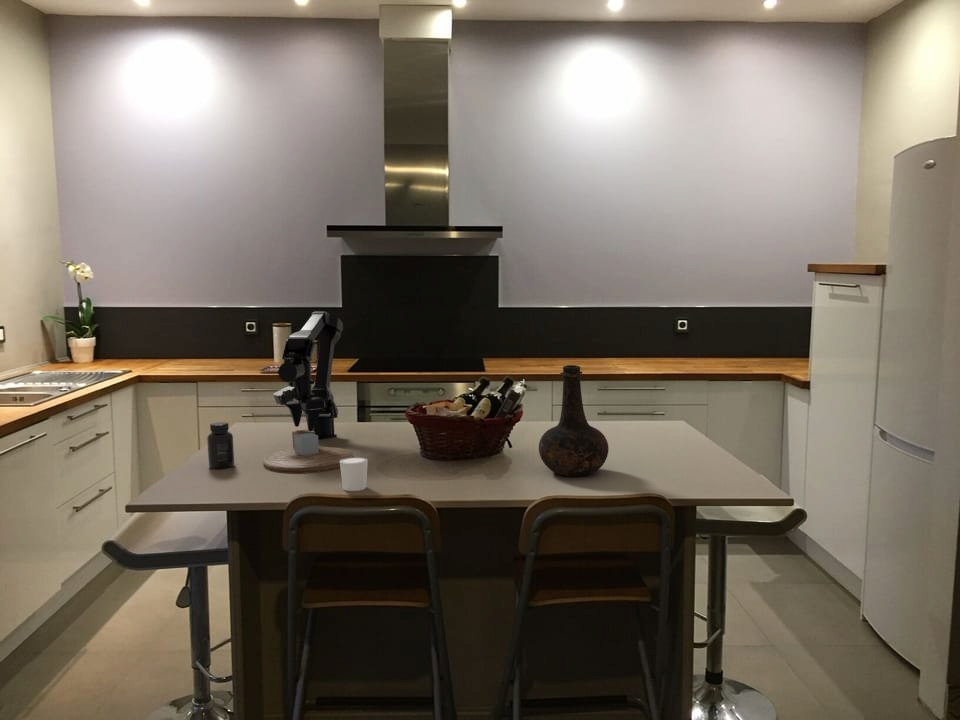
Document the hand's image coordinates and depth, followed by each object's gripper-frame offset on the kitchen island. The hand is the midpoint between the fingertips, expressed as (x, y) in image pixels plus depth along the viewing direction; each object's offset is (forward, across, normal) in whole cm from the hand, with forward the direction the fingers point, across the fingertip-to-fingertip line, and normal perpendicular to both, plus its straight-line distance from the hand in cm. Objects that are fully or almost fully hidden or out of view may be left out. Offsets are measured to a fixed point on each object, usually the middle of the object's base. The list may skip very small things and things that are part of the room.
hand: (303, 428), depth 254 cm
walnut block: (+6, 0, 0) cm, 6 cm away
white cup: (+6, +51, -11) cm, 53 cm away
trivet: (+6, +18, -7) cm, 21 cm away
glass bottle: (+6, +75, +40) cm, 85 cm away
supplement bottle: (+6, +7, -28) cm, 30 cm away
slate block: (+4, +13, -5) cm, 14 cm away
